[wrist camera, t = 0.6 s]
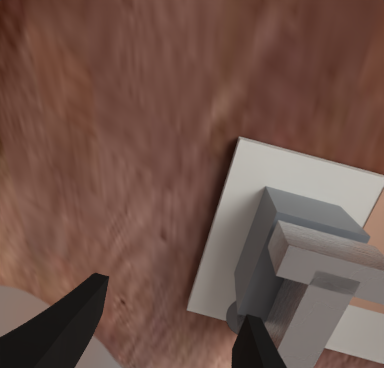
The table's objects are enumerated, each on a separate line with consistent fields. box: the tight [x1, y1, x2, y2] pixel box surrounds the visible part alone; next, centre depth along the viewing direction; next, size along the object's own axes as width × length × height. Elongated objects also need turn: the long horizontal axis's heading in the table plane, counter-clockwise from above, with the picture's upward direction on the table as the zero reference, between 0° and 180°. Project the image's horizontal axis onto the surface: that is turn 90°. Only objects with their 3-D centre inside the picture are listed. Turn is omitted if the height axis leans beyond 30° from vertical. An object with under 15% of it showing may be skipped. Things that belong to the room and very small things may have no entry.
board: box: [187, 137, 384, 364], centre depth 21 cm, size 18×15×1 cm
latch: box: [237, 220, 384, 368], centre depth 17 cm, size 5×12×8 cm, turn 166°
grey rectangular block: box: [234, 186, 370, 321], centre depth 18 cm, size 5×7×4 cm
